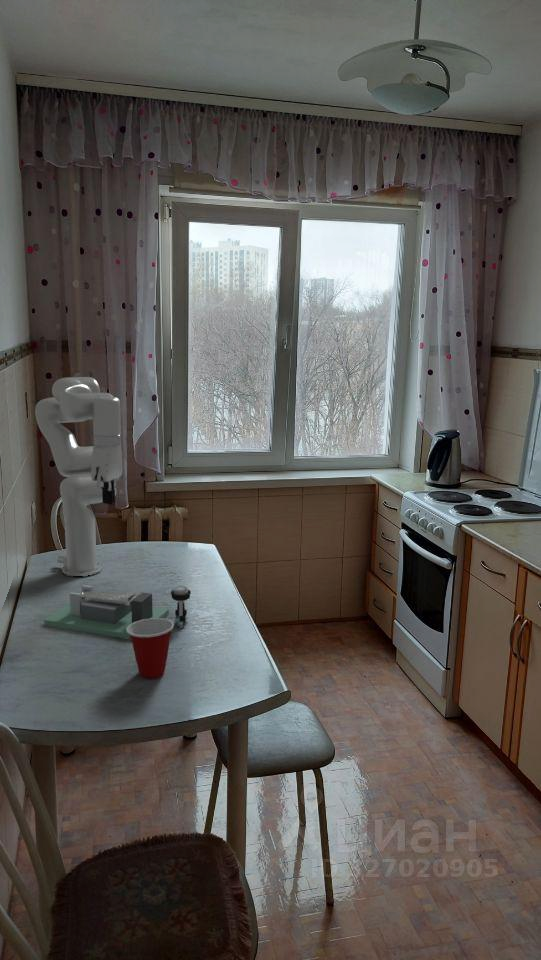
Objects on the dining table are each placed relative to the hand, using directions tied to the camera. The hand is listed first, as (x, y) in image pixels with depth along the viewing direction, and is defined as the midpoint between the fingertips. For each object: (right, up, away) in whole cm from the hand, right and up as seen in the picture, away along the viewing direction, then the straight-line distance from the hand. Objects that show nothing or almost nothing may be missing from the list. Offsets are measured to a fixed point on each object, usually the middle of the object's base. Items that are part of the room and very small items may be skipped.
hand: (108, 502), depth 203 cm
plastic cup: (+19, -38, -40) cm, 58 cm away
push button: (+22, -33, -13) cm, 42 cm away
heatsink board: (+2, -31, -11) cm, 33 cm away
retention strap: (+2, -26, -12) cm, 29 cm away
